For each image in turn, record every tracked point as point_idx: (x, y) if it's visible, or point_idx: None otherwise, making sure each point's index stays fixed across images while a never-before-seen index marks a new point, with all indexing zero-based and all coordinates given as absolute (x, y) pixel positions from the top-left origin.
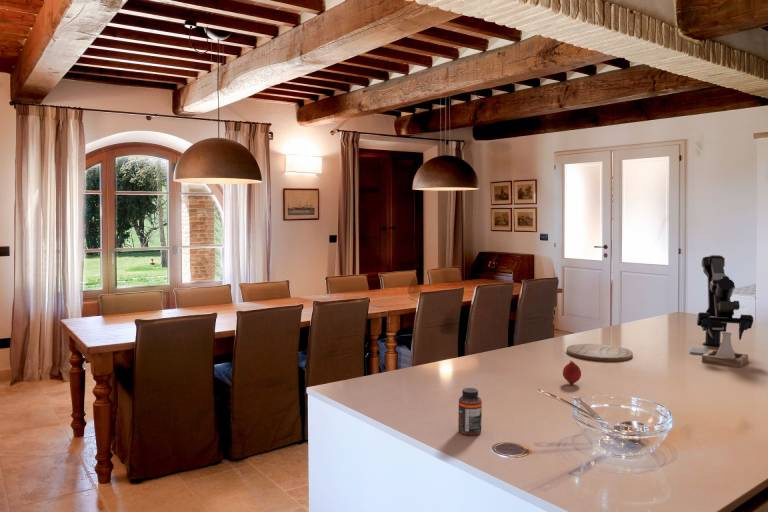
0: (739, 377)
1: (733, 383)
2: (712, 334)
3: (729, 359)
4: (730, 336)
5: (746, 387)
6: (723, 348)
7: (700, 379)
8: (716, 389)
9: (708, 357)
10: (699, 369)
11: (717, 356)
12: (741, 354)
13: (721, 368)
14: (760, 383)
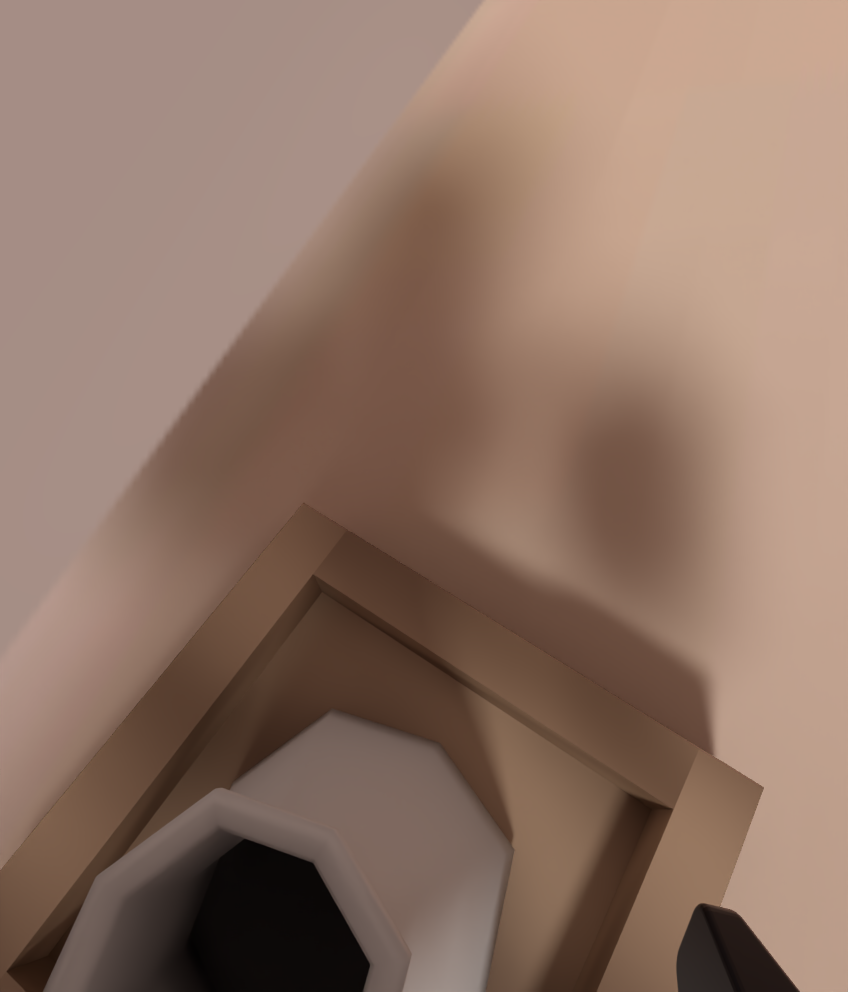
0: (491, 220)
1: (591, 101)
2: (769, 977)
3: (414, 572)
4: (167, 881)
5: (537, 49)
6: (412, 810)
7: (806, 147)
8: (730, 7)
9: (662, 729)
10: (787, 407)
11: (498, 836)
12: (22, 987)
13: (548, 474)
14: (403, 119)
